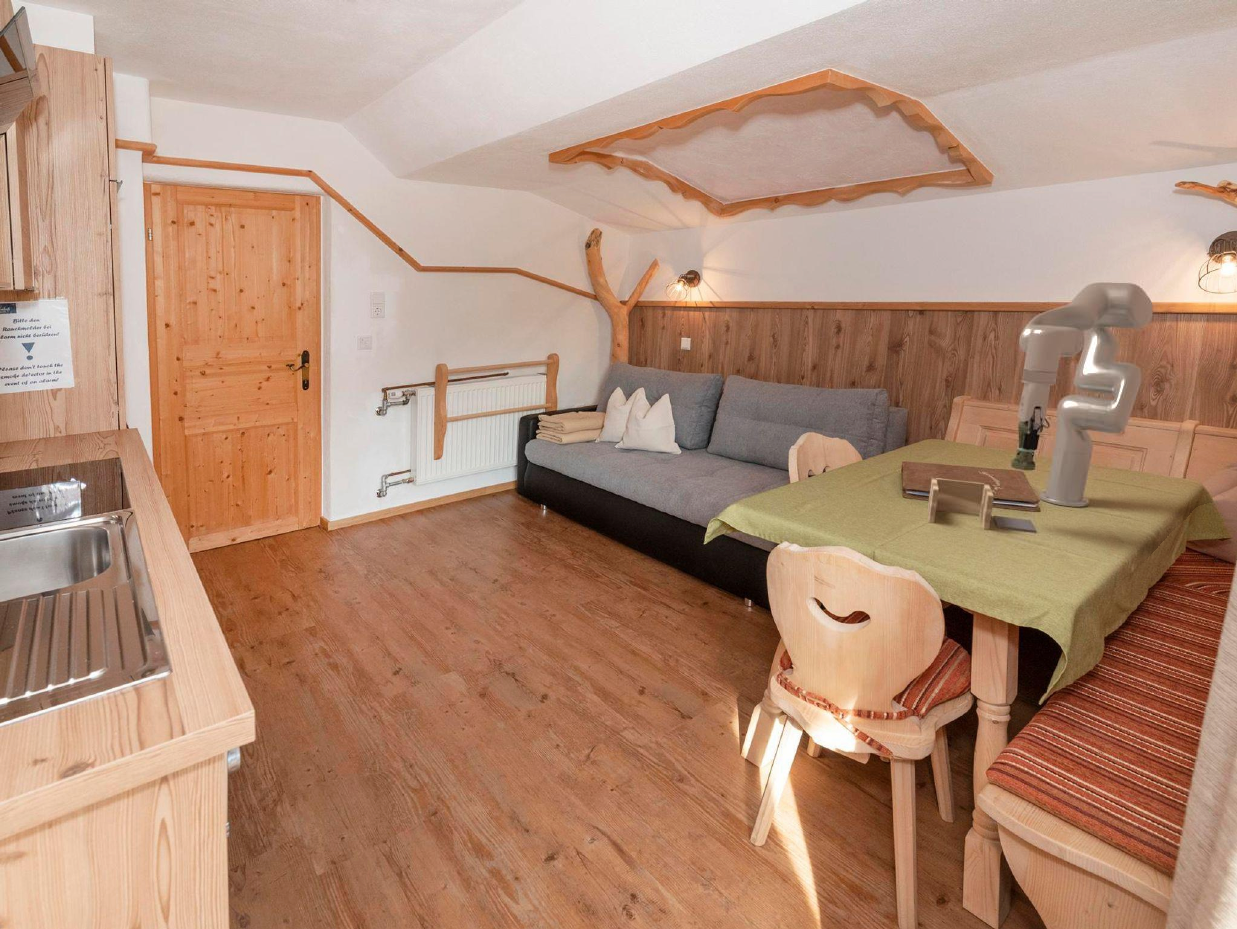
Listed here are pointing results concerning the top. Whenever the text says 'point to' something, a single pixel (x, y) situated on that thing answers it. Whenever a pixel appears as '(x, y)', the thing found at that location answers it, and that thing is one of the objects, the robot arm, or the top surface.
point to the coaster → (1014, 524)
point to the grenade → (1025, 455)
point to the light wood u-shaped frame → (961, 499)
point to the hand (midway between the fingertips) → (1027, 445)
